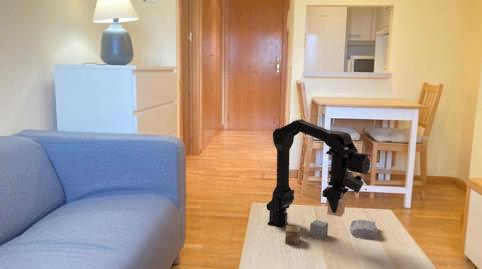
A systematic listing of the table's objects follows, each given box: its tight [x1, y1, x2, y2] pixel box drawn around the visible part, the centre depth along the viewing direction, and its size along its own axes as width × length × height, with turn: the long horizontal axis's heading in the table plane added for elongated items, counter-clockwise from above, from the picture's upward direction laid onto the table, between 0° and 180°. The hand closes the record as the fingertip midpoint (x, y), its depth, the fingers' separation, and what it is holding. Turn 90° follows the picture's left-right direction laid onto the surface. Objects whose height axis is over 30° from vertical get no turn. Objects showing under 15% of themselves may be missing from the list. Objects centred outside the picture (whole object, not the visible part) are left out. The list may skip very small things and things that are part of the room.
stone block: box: [349, 219, 378, 240], centre depth 160 cm, size 12×5×10 cm
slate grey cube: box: [309, 219, 329, 240], centre depth 156 cm, size 5×5×5 cm
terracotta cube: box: [326, 198, 346, 217], centre depth 146 cm, size 5×5×5 cm
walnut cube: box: [284, 225, 301, 246], centre depth 150 cm, size 5×5×5 cm
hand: (335, 210), depth 147 cm, fingers closed on terracotta cube, 5 cm apart
